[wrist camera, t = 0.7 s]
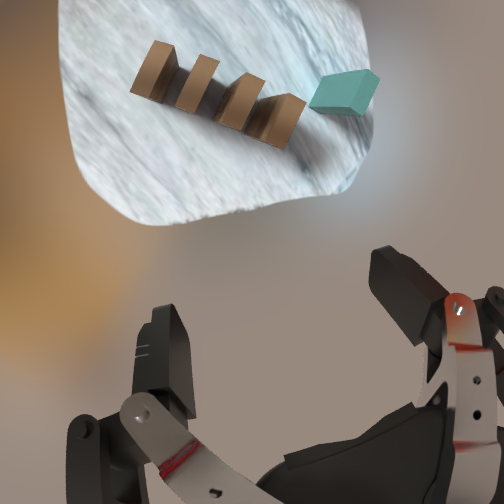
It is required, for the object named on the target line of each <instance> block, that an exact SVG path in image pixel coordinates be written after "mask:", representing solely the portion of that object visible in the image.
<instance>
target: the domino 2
mask: <svg viewBox="0 0 504 504" xmlns="http://www.w3.org/2000/svg"><path fill="white" fill-rule="evenodd" d="M219 62H220V61H218V60H215V59H213V58H210V57H207V56H204V55H202V54H200V55H199V57H198V59H197V61H196V63H195V65H194V67H193V69H192V71H191V73H190V75H189V77H188V79H187V81H186V83H185V85H184V87H183V89H182V91H181V93H180V95H179V97H178V100H177V102H176V104H175V106H176V107H177V108H179V109H180V110H183V111H186V112H189V113H192V114H194V113H195V111H196V109H197V107H198V104H199V102H200V100H201V98H202V96H203V94H204V92H205V90H206V88H207V86H208V84H209V82H210V80H211V78H212V76H213V74H214V72H215V70H216V68H217V66H218V64H219Z"/></svg>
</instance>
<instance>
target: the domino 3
mask: <svg viewBox="0 0 504 504" xmlns="http://www.w3.org/2000/svg"><path fill="white" fill-rule="evenodd" d="M264 83H265V81H264V80H262V79H260V78H258V77H256V76H254V75H252V74H249V73H247V72H246V73H245V74H243V75H242V76H241V77H240V78H238V79H237V80H236V81H234V82H233V83H232V84H230V86H229V88H228V90H227V92H226V94H225V96H224V98H223V100H222V102H221V104H220V106H219V108H218V110H217V112H216V115H215V117H214V119H213V122H216V123H219V124H221V125H224V126H226V127H230V128H233V129H237V130H240V131H241V130H242V128H243V125H244V123H245V121H246V119H247V117H248V115H249V113H250V111H251V109H252V107H253V105H254V103H255V101H256V99H257V97H258V95H259V93H260V91H261V89H262V87H263V85H264Z"/></svg>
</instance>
